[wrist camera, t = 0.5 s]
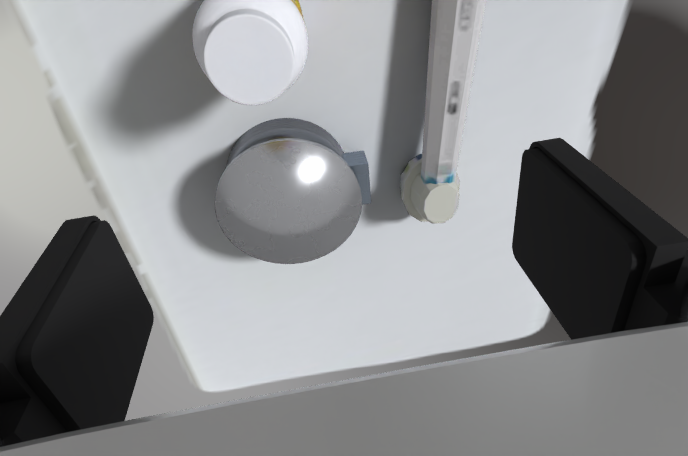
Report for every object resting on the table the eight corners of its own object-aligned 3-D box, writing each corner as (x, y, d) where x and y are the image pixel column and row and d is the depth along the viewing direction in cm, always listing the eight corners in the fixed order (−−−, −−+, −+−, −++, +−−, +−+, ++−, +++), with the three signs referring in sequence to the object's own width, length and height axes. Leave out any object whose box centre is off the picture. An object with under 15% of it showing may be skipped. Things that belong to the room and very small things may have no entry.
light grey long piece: (523, -108, 29) (470, 240, 41) (482, -93, 35) (446, 207, 47) (442, -110, 28) (412, 244, 40) (413, -95, 34) (394, 210, 46)
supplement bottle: (288, 67, 37) (294, 137, 27) (203, 43, 35) (174, 107, 25) (311, -22, 33) (328, 17, 23) (217, -55, 32) (192, -28, 21)
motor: (204, 123, 39) (196, 154, 34) (357, 101, 39) (368, 128, 35) (238, 235, 46) (234, 273, 42) (367, 215, 47) (377, 250, 42)
